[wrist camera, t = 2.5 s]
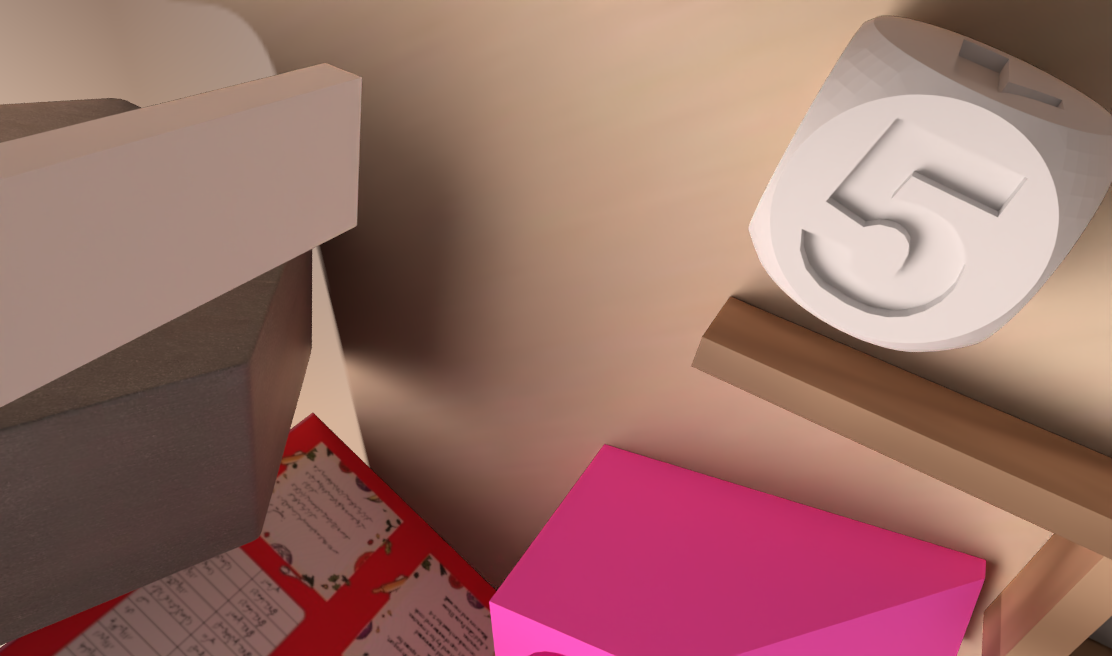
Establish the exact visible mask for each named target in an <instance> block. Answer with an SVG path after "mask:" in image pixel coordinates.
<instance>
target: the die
mask: <svg viewBox="0 0 1112 656" xmlns="http://www.w3.org/2000/svg"><path fill="white" fill-rule="evenodd" d="M1111 183H1112V115H1111V114H1110V113H1109V112H1108V111H1107V110H1106V109H1104V108H1103V107H1102V106H1100V105H1099V104H1098V103H1096V102H1095V101H1093V100H1092V99H1090V98H1089V97H1087V96H1086V95H1084V94H1083V93H1081V92H1080V91H1078V90H1076V89H1075V88H1073V87H1071V86H1070V85H1068V84H1066V83H1064V82H1063V81H1061V80H1059V79H1057V78H1056V77H1054V76H1052V75H1050V74H1048V73H1046V72H1044V71H1042V70H1040V69H1038V68H1036V67H1034V66H1032V65H1030V64H1028V63H1026V62H1024V61H1022V60H1020V59H1018V58H1016V57H1014V56H1011V55H1009V54H1007V53H1005V52H1003V51H1000V50H998V49H996V48H993V47H991V46H989V45H986V44H984V43H981V42H979V41H976V40H974V39H971V38H969V37H966V36H963V35H961V34H958V33H955V32H952V31H950V30H947V29H944V28H941V27H938V26H934V25H931V24H928V23H924V22H920V21H917V20H912V19H908V18H903V17H897V16H879V17H876V18H873V19H871V20H868V21H866V22H864V23H863V24H862V26H861V27H860V28H859V29H858V31H857V32H856V34H855V35H854V36H853V38H852V39H851V41H850V42H849V44H848V45H847V47H846V48H845V50H844V52H843V53H842V55H841V56H840V58H839V59H838V61H837V63H836V64H835V66H834V67H833V69H832V71H831V72H830V74H829V76H828V77H827V79H826V81H825V82H824V84H823V86H822V87H821V89H820V91H819V92H818V94H817V96H816V98H815V99H814V101H813V103H812V104H811V106H810V108H809V110H808V111H807V113H806V115H805V117H804V118H803V120H802V122H801V124H800V126H799V127H798V129H797V131H796V133H795V135H794V136H793V138H792V140H791V142H790V144H789V145H788V147H787V149H786V151H785V153H784V155H783V157H782V158H781V160H780V162H779V164H778V166H777V168H776V170H775V172H774V174H773V175H772V177H771V179H770V181H769V183H768V185H767V187H766V189H765V191H764V193H763V195H762V197H761V199H760V201H759V204H758V206H757V208H756V210H755V212H754V215H753V217H752V219H751V222H750V225H749V229H748V230H749V233H750V236H751V239H752V242H753V245H754V248H755V250H756V253H757V255H758V258H759V260H760V262H761V264H762V266H763V267H764V269H765V270H766V272H767V273H768V274H769V276H770V277H771V278H772V279H773V281H774V282H775V283H776V284H777V285H778V286H779V287H780V288H781V289H782V290H783V291H784V292H785V293H786V294H787V295H788V296H789V297H791V298H792V299H793V300H794V301H795V302H796V303H798V304H799V305H800V306H802V307H803V308H804V309H806V310H807V311H809V312H810V313H811V314H813V315H814V316H816V317H818V318H819V319H821V320H822V321H824V322H826V323H827V324H829V325H831V326H833V327H835V328H837V329H839V330H840V331H842V332H845V333H847V334H849V335H851V336H853V337H856V338H858V339H861V340H863V341H866V342H869V343H872V344H874V345H878V346H881V347H885V348H889V349H894V350H900V351H908V352H929V351H942V350H949V349H955V348H962V347H966V346H970V345H974V344H977V343H980V342H982V341H983V340H985V339H987V338H988V337H990V336H991V335H993V334H994V333H995V332H997V331H998V330H999V329H1000V328H1002V327H1003V326H1004V325H1005V324H1006V323H1007V322H1009V321H1010V320H1011V319H1012V318H1013V317H1014V316H1015V315H1016V314H1017V313H1018V312H1019V311H1020V310H1021V309H1022V308H1023V307H1024V306H1025V305H1026V304H1027V303H1028V302H1029V301H1030V299H1031V298H1032V297H1033V296H1034V295H1035V294H1036V293H1037V292H1038V291H1039V289H1040V288H1041V287H1042V286H1043V285H1044V284H1045V282H1046V281H1047V280H1048V279H1049V277H1050V276H1051V275H1052V274H1053V273H1054V271H1055V270H1056V269H1057V267H1058V266H1059V265H1060V264H1061V262H1062V261H1063V260H1064V258H1065V257H1066V256H1067V254H1068V253H1069V251H1070V250H1071V249H1072V247H1073V246H1074V244H1075V243H1076V242H1077V240H1078V239H1079V237H1080V236H1081V234H1082V233H1083V231H1084V230H1085V228H1086V227H1087V225H1088V224H1089V222H1090V220H1091V219H1092V217H1093V216H1094V214H1095V212H1096V211H1097V209H1098V207H1099V205H1100V204H1101V202H1102V200H1103V198H1104V196H1105V195H1106V193H1107V191H1108V189H1109V187H1110V185H1111Z"/></svg>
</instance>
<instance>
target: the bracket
mask: <svg viewBox="0 0 1112 656" xmlns="http://www.w3.org/2000/svg"><path fill="white" fill-rule="evenodd" d="M985 571H986V560H985V559H981V558H978V557H975V556H972V555H968V554H965V553H962V552H958V551H955V550H952V549H948V548H945V547H942V546H939V545H935V544H932V543H929V542H925V541H922V540H919V539H915V538H912V537H909V536H906V535H902V534H899V533H896V532H892V531H889V530H886V529H883V528H879V527H876V526H873V525H869V524H866V523H863V522H859V521H856V520H853V519H850V518H846V517H843V516H840V515H836V514H833V513H830V512H826V511H823V510H820V509H817V508H813V507H810V506H807V505H803V504H800V503H797V502H794V501H790V500H787V499H784V498H780V497H777V496H774V495H770V494H767V493H764V492H761V491H757V490H754V489H751V488H747V487H744V486H741V485H737V484H734V483H731V482H728V481H724V480H721V479H718V478H714V477H711V476H708V475H705V474H701V473H698V472H695V471H691V470H688V469H685V468H681V467H678V466H675V465H672V464H668V463H665V462H662V461H658V460H655V459H652V458H648V457H645V456H642V455H639V454H635V453H632V452H629V451H625V450H622V449H619V448H616V447H612V446H609V445H606V444H604V445H603V447H602V448H601V449H600V451H599V452H598V454H597V455H596V456H595V458H594V459H593V460H592V462H591V463H590V464H589V466H588V467H587V469H586V470H585V471H584V473H583V474H582V475H581V477H580V478H579V479H578V481H577V482H576V484H575V485H574V486H573V488H572V489H571V490H570V492H569V493H568V494H567V496H566V497H565V499H564V500H563V501H562V503H561V504H560V505H559V507H558V508H557V510H556V511H555V512H554V514H553V515H552V516H551V518H550V519H549V520H548V522H547V523H546V525H545V526H544V527H543V529H542V530H541V531H540V533H539V534H538V535H537V537H536V538H535V540H534V541H533V542H532V544H531V545H530V546H529V548H528V549H527V550H526V552H525V553H524V555H523V556H522V557H521V559H520V560H519V561H518V563H517V564H516V565H515V567H514V568H513V570H512V571H511V572H510V574H509V575H508V576H507V578H506V579H505V581H504V582H503V583H502V585H501V586H500V587H499V589H498V590H497V591H496V593H495V594H494V596H493V597H492V598H491V600H490V601H489V604H490V613H491V622H492V631H493V640H494V649H495V656H957V653H958V651H959V648H960V645H961V642H962V640H963V637H964V634H965V632H966V629H967V626H968V623H969V621H970V618H971V615H972V613H973V610H974V607H975V604H976V602H977V599H978V596H979V594H980V591H981V588H982V586H983V583H984V580H985Z"/></svg>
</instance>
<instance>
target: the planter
mask: <svg viewBox="0 0 1112 656" xmlns="http://www.w3.org/2000/svg"><path fill="white" fill-rule="evenodd" d="M140 108H141V107H138V106H136V105H134V104H132V103H130V102H128V101H125V100H122V99H114V98H107V99H88V100H70V101H54V102H36V103H21V104H3V105H0V143H2V142H6V141H10V140H14V139H18V138H22V137H27V136H31V135H35V134H39V133H43V132H47V131H51V130H55V129H59V128H63V127H67V126H71V125H75V124H79V123H83V122H87V121H91V120H96V119H100V118H104V117H108V116H112V115H116V114H120V113H124V112H128V111H132V110H136V109H140ZM311 348H312V249H310V250H308V251H306V252H305V253H303V254H301V255H299V256H297V257H295V258H293V259H291V260H289V261H287V262H285V263H283V264H281V265H279V266H277V267H275V268H273V269H271V270H269V271H267V272H265V273H263V274H261V275H259V276H257V277H255V278H253V279H251V280H250V281H248V282H246V283H244V284H242V285H240V286H238V287H236V288H234V289H232V290H230V291H228V292H226V293H224V294H222V295H220V296H218V297H216V298H214V299H212V300H210V301H208V302H206V303H204V304H202V305H200V306H198V307H197V308H195V309H193V310H191V311H189V312H187V313H185V314H183V315H181V316H179V317H177V318H175V319H173V320H171V321H169V322H167V323H165V324H163V325H161V326H159V327H157V328H155V329H153V330H151V331H149V332H147V333H145V334H143V335H142V336H140V337H138V338H136V339H134V340H132V341H130V342H128V343H126V344H124V345H122V346H120V347H118V348H116V349H114V350H112V351H110V352H108V353H106V354H104V355H102V356H100V357H98V358H96V359H94V360H92V361H90V362H89V363H87V364H85V365H83V366H81V367H79V368H77V369H75V370H73V371H71V372H69V373H67V374H65V375H63V376H61V377H59V378H57V379H55V380H53V381H51V382H49V383H47V384H45V385H43V386H41V387H39V388H37V389H35V390H34V391H32V392H30V393H28V394H26V395H24V396H22V397H20V398H18V399H16V400H14V401H12V402H10V403H8V404H6V405H4V406H2V407H0V645H3V644H5V643H8V642H10V641H12V640H15V639H17V638H20V637H22V636H25V635H27V634H29V633H32V632H34V631H37V630H39V629H41V628H44V627H46V626H49V625H51V624H54V623H56V622H58V621H61V620H63V619H66V618H68V617H71V616H73V615H75V614H78V613H80V612H83V611H85V610H87V609H90V608H92V607H95V606H97V605H100V604H102V603H104V602H107V601H109V600H112V599H114V598H117V597H119V596H121V595H124V594H126V593H129V592H131V591H133V590H136V589H138V588H141V587H143V586H146V585H148V584H150V583H153V582H155V581H158V580H160V579H163V578H165V577H167V576H170V575H172V574H175V573H177V572H179V571H182V570H184V569H187V568H189V567H192V566H194V565H196V564H199V563H201V562H204V561H206V560H209V559H211V558H213V557H216V556H218V555H221V554H223V553H225V552H228V551H230V550H233V549H235V548H238V547H240V546H242V545H245V544H247V543H250V542H252V541H254V540H256V539H257V538H259V536H260V534H261V532H262V528H263V525H264V522H265V518H266V514H267V511H268V507H269V503H270V500H271V496H272V493H273V489H274V485H275V482H276V478H277V474H278V471H279V467H280V463H281V460H282V456H283V453H284V449H285V445H286V442H287V438H288V434H289V431H290V427H291V424H292V419H293V416H294V413H295V409H296V405H297V401H298V398H299V394H300V391H301V387H302V383H303V380H304V376H305V373H306V369H307V365H308V362H309V358H310V354H311Z"/></svg>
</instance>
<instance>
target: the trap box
mask: <svg viewBox="0 0 1112 656" xmlns="http://www.w3.org/2000/svg"><path fill="white" fill-rule="evenodd" d="M692 367H694V368H697V369H699V370H701V371H703V372H705V373H707V374H710V375H712V376H714V377H716V378H718V379H720V380H723V381H725V382H727V383H729V384H731V385H733V386H736V387H738V388H740V389H742V390H744V391H746V392H749V393H751V394H753V395H755V396H757V397H759V398H762V399H764V400H766V401H768V402H770V403H772V404H775V405H777V406H779V407H781V408H783V409H786V410H788V411H790V412H792V413H794V414H796V415H799V416H801V417H803V418H805V419H807V420H809V421H812V422H814V423H816V424H818V425H820V426H822V427H825V428H827V429H829V430H831V431H833V432H835V433H838V434H840V435H842V436H844V437H846V438H848V439H851V440H853V441H855V442H857V443H859V444H861V445H864V446H866V447H868V448H870V449H872V450H874V451H877V452H879V453H881V454H883V455H885V456H888V457H890V458H892V459H894V460H896V461H898V462H901V463H903V464H905V465H907V466H909V467H911V468H914V469H916V470H918V471H920V472H922V473H924V474H927V475H929V476H931V477H933V478H935V479H937V480H940V481H942V482H944V483H946V484H948V485H950V486H953V487H955V488H957V489H959V490H961V491H963V492H966V493H968V494H970V495H972V496H974V497H976V498H979V499H981V500H983V501H985V502H987V503H989V504H992V505H994V506H996V507H998V508H1000V509H1003V510H1005V511H1007V512H1009V513H1011V514H1013V515H1016V516H1018V517H1020V518H1022V519H1024V520H1026V521H1029V522H1031V523H1033V524H1035V525H1037V526H1039V527H1042V528H1044V529H1046V530H1048V531H1050V532H1052V533H1055V534H1054V535H1053V536H1052V537H1051V538H1050V539H1049V540H1048V541H1047V543H1046V544H1045V545H1044V546H1043V547H1042V548H1041V549H1040V550H1039V551H1038V553H1037V554H1036V555H1035V556H1034V557H1033V558H1032V559H1031V560H1030V561H1029V563H1028V564H1027V565H1026V566H1025V567H1024V568H1023V569H1022V570H1021V571H1020V573H1019V574H1018V575H1017V576H1016V577H1015V578H1014V579H1013V580H1012V581H1011V582H1010V584H1009V585H1008V586H1007V587H1006V588H1005V589H1004V590H1003V591H1002V592H1001V594H1000V595H999V596H998V597H997V598H996V599H995V600H994V601H993V602H992V604H991V605H990V606H989V607H988V608H987V609H986V610H985V611H984V618H983V641H982V656H1112V458H1110V457H1108V456H1105V455H1103V454H1101V453H1098V452H1096V451H1094V450H1091V449H1089V448H1087V447H1084V446H1082V445H1080V444H1077V443H1075V442H1072V441H1070V440H1068V439H1065V438H1063V437H1061V436H1058V435H1056V434H1054V433H1051V432H1049V431H1047V430H1044V429H1042V428H1039V427H1037V426H1035V425H1032V424H1030V423H1028V422H1025V421H1023V420H1021V419H1018V418H1016V417H1014V416H1011V415H1009V414H1006V413H1004V412H1002V411H999V410H997V409H995V408H992V407H990V406H988V405H985V404H983V403H981V402H978V401H976V400H973V399H971V398H969V397H966V396H964V395H962V394H959V393H957V392H955V391H952V390H950V389H948V388H945V387H943V386H940V385H938V384H936V383H933V382H931V381H929V380H926V379H924V378H922V377H919V376H917V375H915V374H912V373H910V372H907V371H905V370H903V369H900V368H898V367H896V366H893V365H891V364H889V363H886V362H884V361H882V360H879V359H877V358H874V357H872V356H870V355H867V354H865V353H863V352H860V351H858V350H856V349H853V348H851V347H849V346H846V345H844V344H841V343H839V342H837V341H834V340H832V339H830V338H827V337H825V336H823V335H820V334H818V333H816V332H813V331H811V330H808V329H806V328H804V327H801V326H799V325H797V324H794V323H792V322H790V321H787V320H785V319H783V318H780V317H778V316H775V315H773V314H771V313H768V312H766V311H764V310H761V309H759V308H757V307H754V306H752V305H750V304H747V303H745V302H742V301H740V300H738V299H735V298H733V297H731V296H730V297H729V299H728V300H727V302H726V303H725V305H724V306H723V307H722V309H721V310H720V312H719V313H718V315H717V316H716V318H715V319H714V320H713V322H712V323H711V325H710V326H709V328H708V329H707V331H706V332H705V334H704V335H703V336H702V339H701V341H700V344H699V347H698V349H697V352H696V355H695V358H694V360H693V363H692Z"/></svg>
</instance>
